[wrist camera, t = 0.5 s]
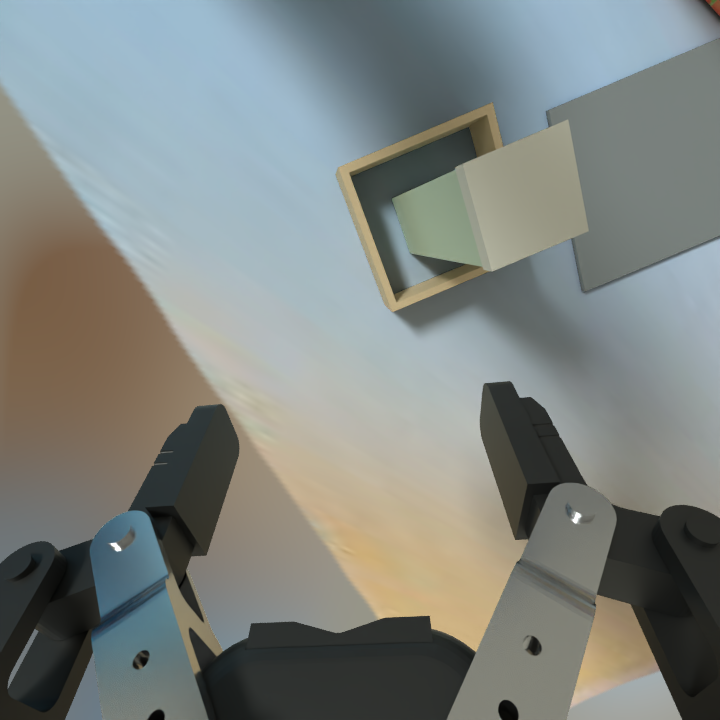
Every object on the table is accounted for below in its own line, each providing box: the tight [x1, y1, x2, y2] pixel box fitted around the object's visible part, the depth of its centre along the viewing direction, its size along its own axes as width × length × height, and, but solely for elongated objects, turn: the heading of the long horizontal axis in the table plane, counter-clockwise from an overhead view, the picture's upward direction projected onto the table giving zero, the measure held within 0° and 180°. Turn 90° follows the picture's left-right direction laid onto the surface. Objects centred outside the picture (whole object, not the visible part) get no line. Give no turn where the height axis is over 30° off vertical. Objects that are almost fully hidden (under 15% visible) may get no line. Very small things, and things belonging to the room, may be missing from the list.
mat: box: [546, 38, 720, 292], centre depth 35 cm, size 16×16×1 cm
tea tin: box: [392, 120, 589, 272], centre depth 26 cm, size 5×5×17 cm
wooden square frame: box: [335, 102, 503, 312], centre depth 32 cm, size 12×12×4 cm
